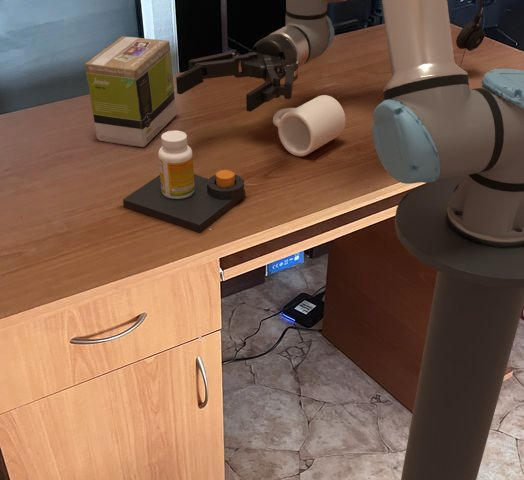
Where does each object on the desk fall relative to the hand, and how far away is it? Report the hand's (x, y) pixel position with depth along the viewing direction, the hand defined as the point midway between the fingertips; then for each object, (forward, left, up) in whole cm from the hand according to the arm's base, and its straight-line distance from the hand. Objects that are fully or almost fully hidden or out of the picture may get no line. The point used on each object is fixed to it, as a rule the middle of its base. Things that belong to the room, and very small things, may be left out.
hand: (212, 94), depth 127 cm
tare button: (-6, +7, -11) cm, 14 cm away
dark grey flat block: (-1, +11, -14) cm, 18 cm away
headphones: (-15, -64, -14) cm, 67 cm away
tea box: (+23, -7, -14) cm, 28 cm away
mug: (-7, -18, -14) cm, 24 cm away
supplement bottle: (0, +11, -13) cm, 17 cm away
